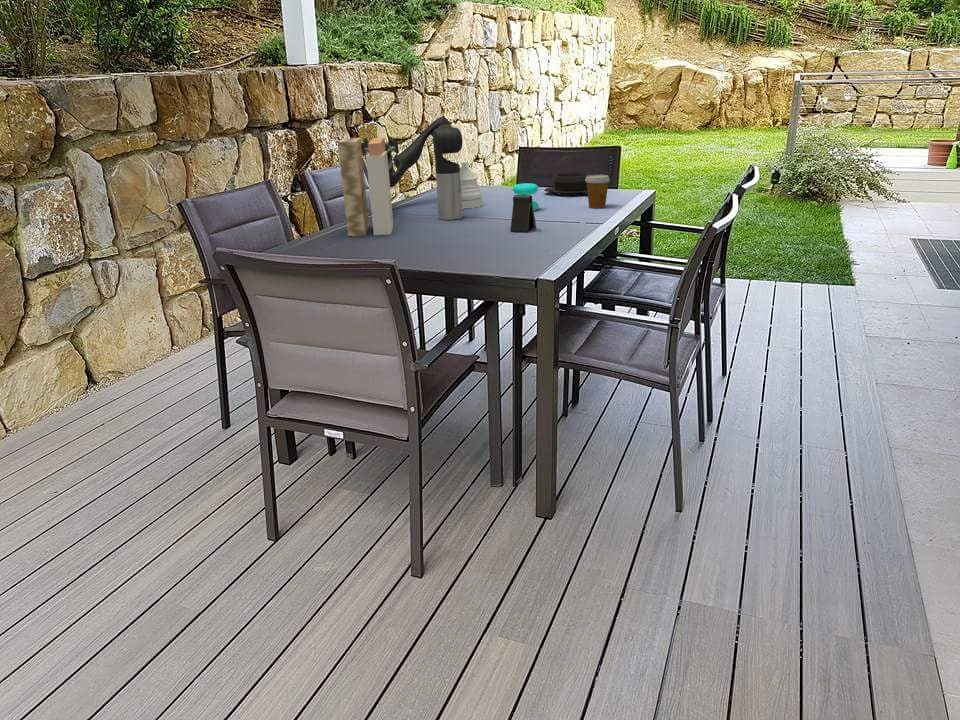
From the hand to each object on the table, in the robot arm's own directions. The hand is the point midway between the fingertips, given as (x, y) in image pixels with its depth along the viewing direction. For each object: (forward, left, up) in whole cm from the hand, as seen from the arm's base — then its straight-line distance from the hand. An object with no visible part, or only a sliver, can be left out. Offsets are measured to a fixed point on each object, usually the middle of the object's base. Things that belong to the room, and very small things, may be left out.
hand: (377, 139), depth 275 cm
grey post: (-1, +17, -31) cm, 35 cm away
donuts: (-55, -8, -31) cm, 64 cm away
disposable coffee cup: (-83, -6, -31) cm, 89 cm away
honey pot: (-32, -25, -31) cm, 51 cm away
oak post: (+8, +17, -31) cm, 36 cm away
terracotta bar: (-1, +12, -4) cm, 12 cm away
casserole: (-79, -42, -31) cm, 95 cm away
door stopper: (-50, +30, -31) cm, 66 cm away
